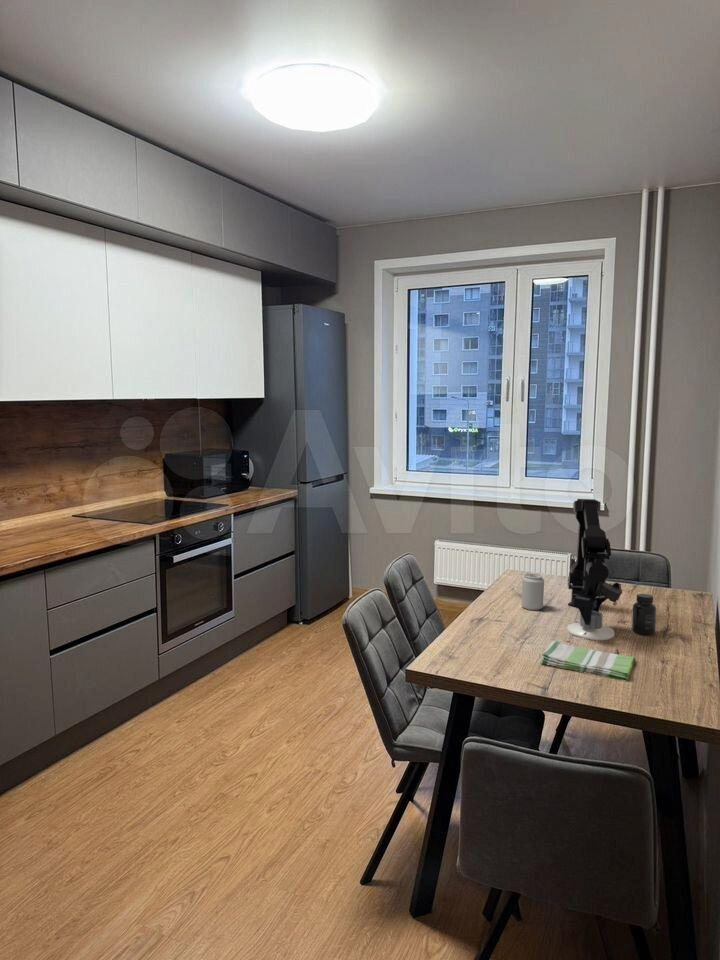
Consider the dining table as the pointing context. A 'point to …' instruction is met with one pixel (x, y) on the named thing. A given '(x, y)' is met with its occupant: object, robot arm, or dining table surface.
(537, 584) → the can
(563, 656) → the dish towel
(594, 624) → the grey segmented ring
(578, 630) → the shaft hub
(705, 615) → the dining table surface
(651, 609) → the supplement bottle
